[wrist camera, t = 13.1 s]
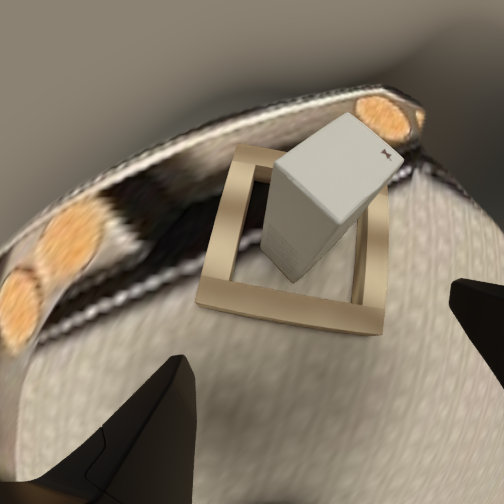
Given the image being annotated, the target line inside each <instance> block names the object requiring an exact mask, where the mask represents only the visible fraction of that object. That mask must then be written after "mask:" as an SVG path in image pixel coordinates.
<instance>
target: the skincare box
mask: <svg viewBox="0 0 504 504" xmlns="http://www.w3.org/2000/svg"><path fill="white" fill-rule="evenodd" d="M403 161H404V159H403V158H402V157H401V156H400V155H399V154H398V153H397V152H396V151H395V150H394V149H392V148H391V147H390V146H389V145H388V144H387V143H386V142H385V141H383V140H382V139H381V138H380V137H379V136H378V135H376V134H375V133H374V132H373V131H372V130H371V129H369V128H368V127H367V126H366V125H364V124H363V123H362V122H361V121H359V120H358V119H357V118H355V117H354V116H352V115H351V114H350V113H348V112H347V113H345V114H343V115H341V116H340V117H338V118H337V119H335V120H334V121H332V122H331V123H329V124H328V125H326V126H325V127H323V128H322V129H320V130H319V131H317V132H316V133H314V134H313V135H312V136H310V137H309V138H307V139H306V140H305V141H303V142H302V143H300V144H299V145H297V146H296V147H295V148H293V149H292V150H290V151H289V152H288V153H286V154H285V155H283V156H282V157H281V158H279V159H277V160H276V161H275V162H274V163H273V171H272V176H271V183H270V189H269V195H268V201H267V207H266V213H265V219H264V225H263V231H262V237H261V244H260V248H261V250H262V251H263V252H264V253H265V254H266V255H267V256H268V257H269V258H270V259H271V260H272V261H273V262H274V263H275V264H276V265H277V266H278V268H279V269H280V270H281V271H282V272H283V273H284V274H285V275H286V276H287V277H288V278H289V279H290V280H291V281H292V282H293V283H295V282H296V281H297V280H298V279H299V278H301V277H302V276H303V275H304V274H305V273H306V272H307V271H308V270H309V269H310V268H311V267H312V266H313V265H314V264H315V263H317V262H318V261H319V260H320V259H321V258H322V257H323V256H324V255H325V254H326V253H327V252H328V251H329V250H330V249H331V248H332V246H333V245H334V244H335V243H336V242H337V241H338V240H339V239H340V238H341V237H342V236H343V235H344V234H345V233H346V231H347V230H348V229H349V228H350V227H351V226H352V225H353V223H354V222H355V221H356V220H357V219H358V217H359V216H360V215H361V214H362V213H363V211H364V210H365V209H366V208H367V207H368V206H369V204H370V203H371V202H372V201H373V200H374V198H375V197H376V196H377V195H378V194H379V192H380V191H381V190H382V189H383V188H384V186H385V185H386V184H387V183H388V182H389V180H390V179H391V178H392V177H393V175H394V174H395V173H396V171H397V170H398V169H399V167H400V166H401V165H402V163H403Z"/></svg>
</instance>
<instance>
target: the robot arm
mask: <svg viewBox="0 0 504 504" xmlns="http://www.w3.org/2000/svg"><path fill="white" fill-rule="evenodd" d="M449 307H450V309H451V311H452V312H453V314H454V315H455V317H456V318H457V320H458V321H459V323H460V325H461V326H462V328H463V329H464V331H465V333H466V334H467V336H468V338H469V339H470V340H471V342H472V343H473V345H474V346H475V347H476V349H477V350H478V352H479V353H480V354H481V356H482V357H483V359H484V360H485V361H486V363H487V364H488V366H489V367H490V369H491V370H492V372H493V373H494V375H495V376H496V378H497V379H498V381H499V382H500V384H501V386H502V387H503V389H504V286H503V285H498V284H492V283H487V282H481V281H475V280H470V279H464V278H460V279H457V280H455V281H453V282H452V284H451V289H450V297H449ZM196 427H197V412H196V386H195V376H194V373H193V371H192V369H191V367H190V365H189V362H188V360H187V358H186V357H185V355H175V356H171V357H170V358H169V359H168V360H167V361H166V362H165V363H164V364H163V365H162V366H161V367H160V368H159V369H158V370H157V371H156V372H155V373H154V374H153V375H152V376H151V377H150V378H149V379H148V380H147V381H146V382H145V383H144V384H143V385H142V386H141V387H140V388H139V389H138V390H137V391H136V392H135V393H134V394H133V395H132V396H131V397H130V398H129V399H128V400H127V401H126V402H125V403H124V404H123V405H122V406H121V407H120V408H119V409H118V410H117V411H116V412H115V413H114V414H113V415H112V416H111V417H110V418H109V419H108V420H107V421H106V422H105V423H104V424H103V425H102V427H100V428H99V429H98V430H97V431H96V432H95V433H94V434H93V435H92V436H90V437H89V438H88V439H87V440H86V441H85V442H84V443H83V444H82V445H81V446H79V447H78V448H77V449H76V450H75V451H73V452H72V453H71V454H70V455H69V456H67V457H66V458H65V459H63V460H62V461H61V462H60V463H58V464H57V465H56V466H54V467H53V468H52V469H51V470H49V471H48V472H47V473H45V474H44V475H42V476H41V477H39V478H37V479H34V480H31V481H25V482H0V504H192V489H193V470H194V455H195V441H196Z"/></svg>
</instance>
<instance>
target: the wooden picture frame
mask: <svg viewBox="0 0 504 504" xmlns="http://www.w3.org/2000/svg"><path fill="white" fill-rule="evenodd" d="M286 153H287V152H282V151H277V150H272V149H267V148H261V147H256V146H250V145H244V144H237V147H236V150H235V153H234V157H233V160H232V163H231V167H230V170H229V173H228V177H227V180H226V184H225V187H224V191H223V194H222V198H221V201H220V205H219V209H218V212H217V216H216V220H215V223H214V227H213V231H212V235H211V238H210V242H209V246H208V250H207V254H206V258H205V262H204V266H203V270H202V274H201V278H200V282H199V286H198V290H197V294H196V299H195V303H196V304H197V305H199V306H200V307H204V308H208V309H213V310H217V311H222V312H227V313H231V314H236V315H241V316H246V317H251V318H256V319H261V320H267V321H272V322H277V323H283V324H289V325H295V326H301V327H307V328H313V329H319V330H326V331H333V332H340V333H347V334H355V335H363V336H376V335H382V332H383V324H384V314H385V304H386V291H387V275H388V247H389V219H388V190H387V184H386V185H385V186H384V188H383V189H382V190H381V191H380V192H379V194H378V195H377V196H376V197H375V198H374V200H373V201H372V202H371V203H370V204H369V206H368V207H367V208H366V209H365V210H364V211H363V213H362V214H361V215H360V216H359V217H358V223H357V243H356V258H355V270H354V281H353V291H352V300H351V303H345V302H339V301H333V300H327V299H321V298H316V297H310V296H305V295H299V294H294V293H288V292H283V291H278V290H273V289H268V288H262V287H257V286H252V285H247V284H242V283H237V282H233V281H232V276H233V272H234V267H235V263H236V258H237V254H238V249H239V245H240V240H241V236H242V231H243V227H244V223H245V218H246V214H247V209H248V205H249V201H250V196H251V192H252V188H253V183H254V181H259V182H265V183H271V176H272V171H273V163H274V162H275V161H276V160H277V159H279V158H281V157H282V156H283V155H285V154H286Z"/></svg>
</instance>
